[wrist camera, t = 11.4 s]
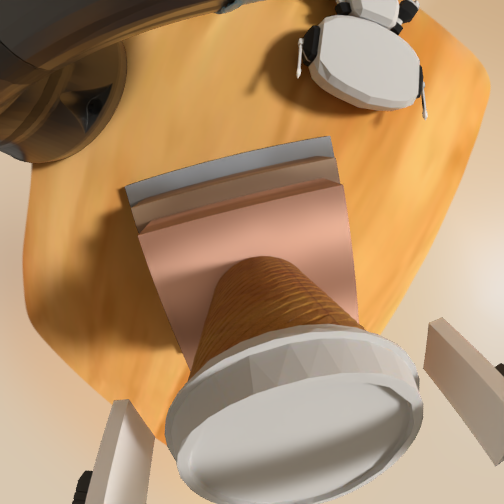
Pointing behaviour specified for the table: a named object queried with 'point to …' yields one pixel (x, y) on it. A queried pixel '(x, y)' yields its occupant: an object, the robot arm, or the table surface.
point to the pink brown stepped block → (243, 227)
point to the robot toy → (365, 55)
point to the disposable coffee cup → (289, 395)
